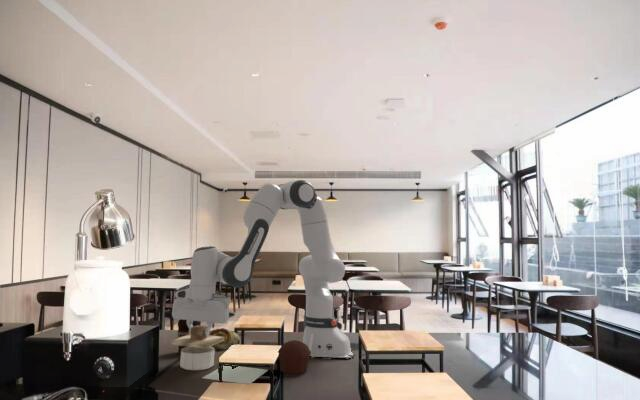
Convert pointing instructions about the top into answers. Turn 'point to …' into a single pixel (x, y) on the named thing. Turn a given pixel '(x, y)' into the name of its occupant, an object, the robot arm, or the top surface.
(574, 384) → the top surface
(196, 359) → the bowl
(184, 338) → the lid
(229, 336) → the pastry
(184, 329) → the coffee cup
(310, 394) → the top surface
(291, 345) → the muffin
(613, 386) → the top surface
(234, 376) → the mat
